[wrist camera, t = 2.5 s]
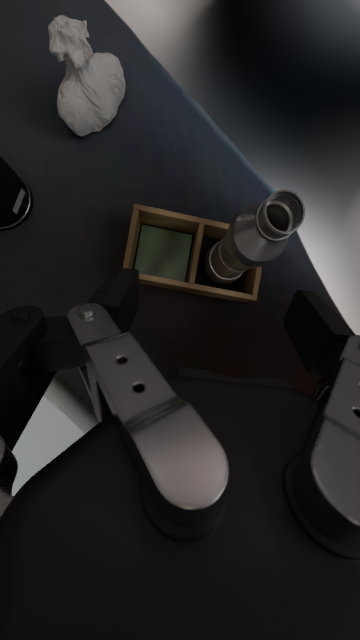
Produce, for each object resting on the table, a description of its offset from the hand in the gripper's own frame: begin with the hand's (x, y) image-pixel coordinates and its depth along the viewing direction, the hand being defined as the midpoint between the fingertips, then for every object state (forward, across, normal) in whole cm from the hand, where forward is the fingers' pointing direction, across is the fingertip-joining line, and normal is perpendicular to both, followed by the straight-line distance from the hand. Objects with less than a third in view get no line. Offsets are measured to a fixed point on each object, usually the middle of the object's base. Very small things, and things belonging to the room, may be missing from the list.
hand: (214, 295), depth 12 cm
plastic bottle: (+27, -4, +9) cm, 29 cm away
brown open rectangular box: (+27, 0, +9) cm, 28 cm away
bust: (+39, +19, -10) cm, 44 cm away
